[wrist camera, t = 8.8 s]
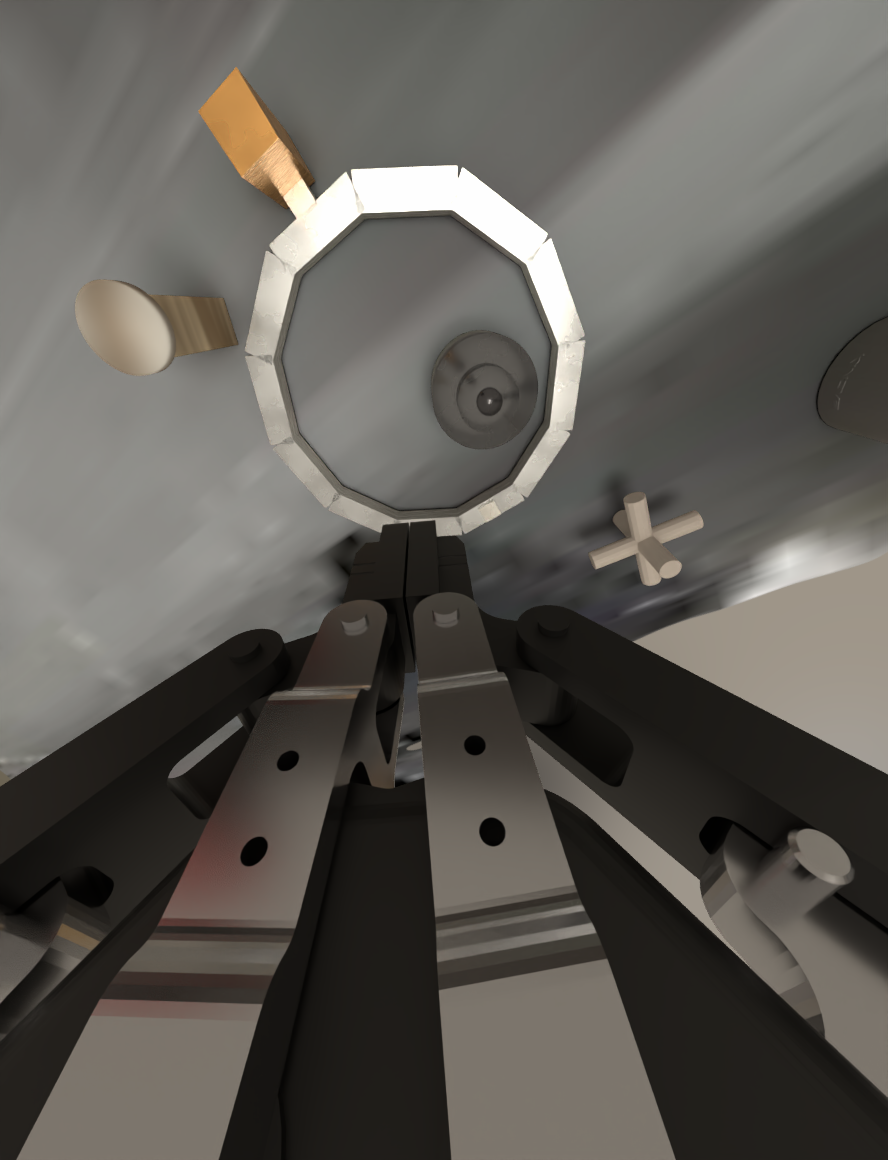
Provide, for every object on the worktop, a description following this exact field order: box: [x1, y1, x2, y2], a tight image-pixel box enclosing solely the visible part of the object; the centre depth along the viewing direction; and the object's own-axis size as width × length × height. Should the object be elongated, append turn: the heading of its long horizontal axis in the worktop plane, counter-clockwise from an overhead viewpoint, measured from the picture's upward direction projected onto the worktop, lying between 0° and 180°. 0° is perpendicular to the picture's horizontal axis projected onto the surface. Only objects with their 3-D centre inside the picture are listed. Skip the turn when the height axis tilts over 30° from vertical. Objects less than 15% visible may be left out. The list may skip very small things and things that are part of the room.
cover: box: [431, 330, 538, 449], centre depth 30 cm, size 8×8×8 cm
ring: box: [198, 67, 585, 536], centre depth 29 cm, size 26×30×8 cm
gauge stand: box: [75, 280, 238, 376], centre depth 26 cm, size 4×4×11 cm
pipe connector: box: [588, 492, 703, 586], centre depth 37 cm, size 10×10×10 cm
